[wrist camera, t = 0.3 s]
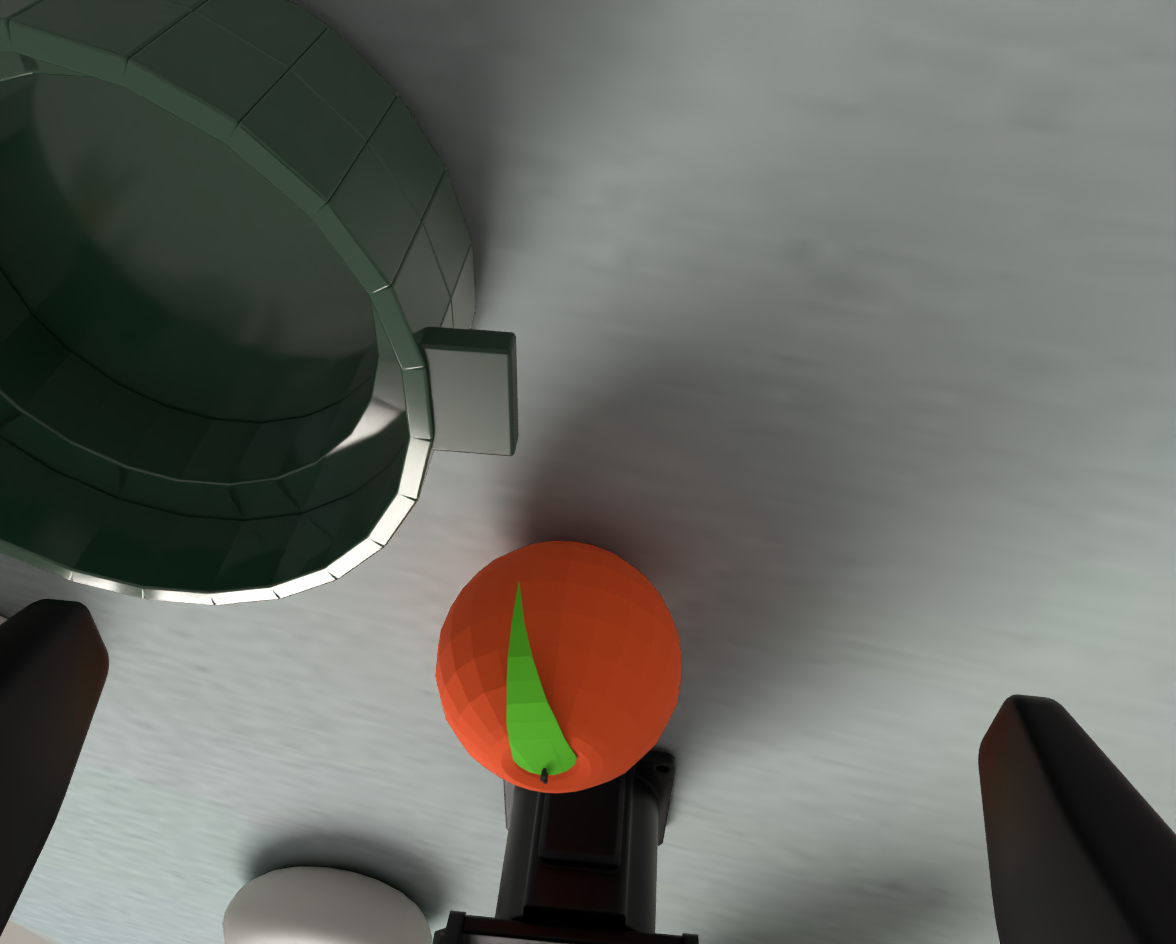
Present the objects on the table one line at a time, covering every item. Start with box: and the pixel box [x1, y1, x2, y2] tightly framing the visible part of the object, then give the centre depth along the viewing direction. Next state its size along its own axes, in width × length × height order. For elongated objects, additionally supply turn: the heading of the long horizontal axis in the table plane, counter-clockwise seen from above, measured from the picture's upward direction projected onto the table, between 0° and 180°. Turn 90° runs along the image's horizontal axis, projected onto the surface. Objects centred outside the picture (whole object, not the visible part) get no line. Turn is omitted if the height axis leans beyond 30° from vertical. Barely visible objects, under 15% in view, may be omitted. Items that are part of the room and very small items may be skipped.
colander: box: [0, 0, 476, 605], centre depth 21 cm, size 13×13×6 cm
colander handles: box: [420, 326, 518, 456], centre depth 19 cm, size 3×17×1 cm, turn 88°
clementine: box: [436, 541, 682, 793], centre depth 26 cm, size 8×7×7 cm
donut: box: [223, 866, 432, 944], centre depth 45 cm, size 10×4×10 cm
